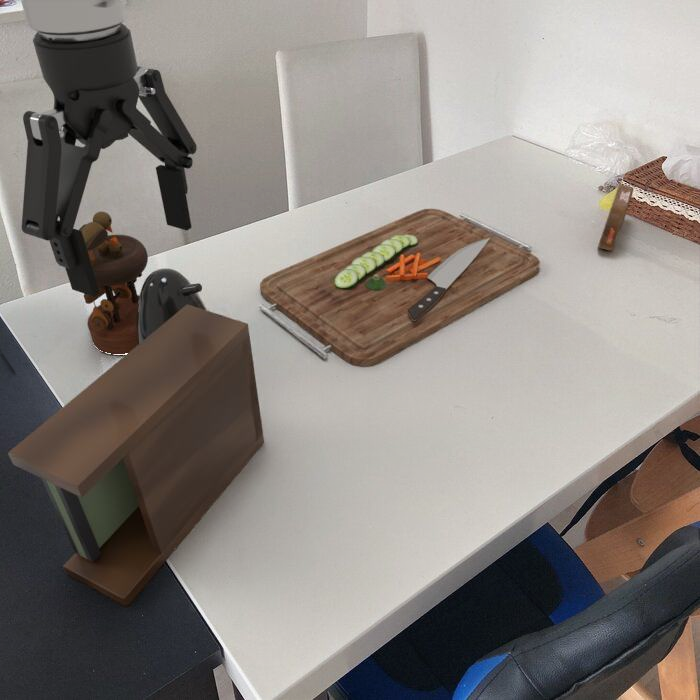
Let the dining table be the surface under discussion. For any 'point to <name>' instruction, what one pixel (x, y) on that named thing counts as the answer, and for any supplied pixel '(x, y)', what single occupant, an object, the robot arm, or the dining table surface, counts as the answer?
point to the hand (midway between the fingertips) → (135, 256)
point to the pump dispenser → (164, 300)
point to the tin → (616, 217)
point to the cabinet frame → (155, 441)
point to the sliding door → (95, 510)
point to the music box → (113, 285)
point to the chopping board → (396, 284)
